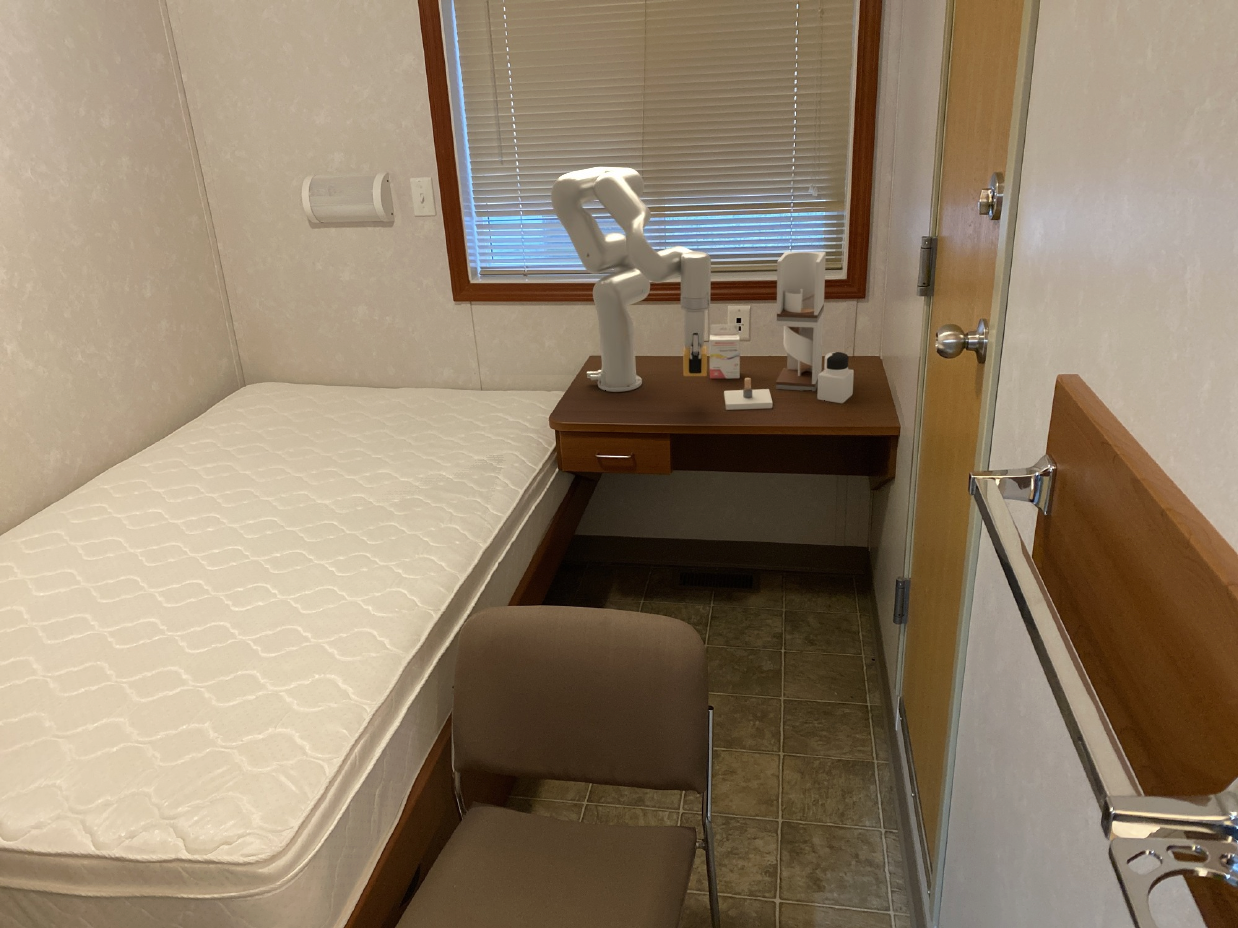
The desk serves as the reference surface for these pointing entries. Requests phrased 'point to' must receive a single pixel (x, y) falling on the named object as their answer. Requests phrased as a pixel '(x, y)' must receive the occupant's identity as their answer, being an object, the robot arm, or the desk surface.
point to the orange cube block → (686, 362)
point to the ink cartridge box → (724, 351)
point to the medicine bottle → (835, 379)
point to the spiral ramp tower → (801, 317)
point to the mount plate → (747, 398)
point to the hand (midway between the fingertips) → (694, 367)
